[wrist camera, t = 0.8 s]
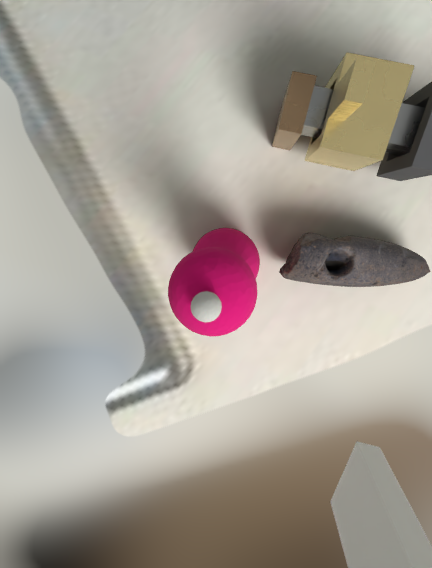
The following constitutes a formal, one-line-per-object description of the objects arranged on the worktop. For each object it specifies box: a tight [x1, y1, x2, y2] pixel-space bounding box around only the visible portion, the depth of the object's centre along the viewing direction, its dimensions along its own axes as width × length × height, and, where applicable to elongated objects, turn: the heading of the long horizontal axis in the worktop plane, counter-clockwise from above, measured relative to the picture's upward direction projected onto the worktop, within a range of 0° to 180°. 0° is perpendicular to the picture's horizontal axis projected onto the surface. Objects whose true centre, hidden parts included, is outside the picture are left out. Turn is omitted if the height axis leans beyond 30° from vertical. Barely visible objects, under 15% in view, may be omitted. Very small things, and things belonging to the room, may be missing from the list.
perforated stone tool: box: [279, 233, 430, 287], centre depth 31 cm, size 15×5×7 cm, turn 85°
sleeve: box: [305, 53, 414, 171], centre depth 24 cm, size 5×7×11 cm
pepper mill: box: [168, 228, 260, 336], centre depth 26 cm, size 7×7×20 cm
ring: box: [377, 82, 432, 181], centre depth 26 cm, size 2×7×7 cm, turn 168°
